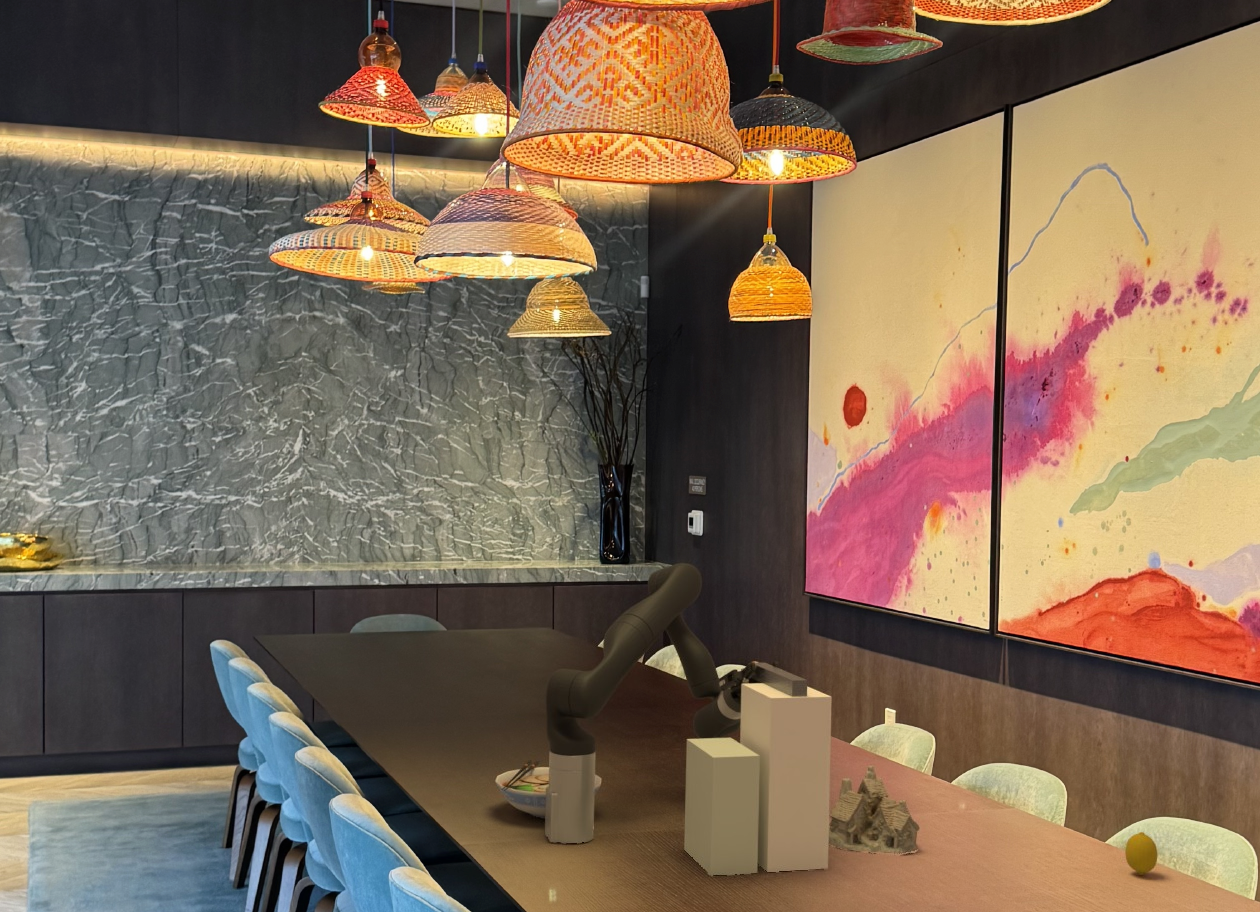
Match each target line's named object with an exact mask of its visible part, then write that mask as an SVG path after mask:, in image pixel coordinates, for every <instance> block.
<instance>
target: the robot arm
mask: <svg viewBox="0 0 1260 912" xmlns="http://www.w3.org/2000/svg"><path fill="white" fill-rule="evenodd" d="M702 579H703V578H702V576H701V573H700V571H699V569H698V568H696V566H694V565H692V564H691V563H690V564H689V563H688V562H687V563H684V562H681V563H680V562H679V563H675V564H672V565H670V566H666V567H664V568H661V569H658V570H656V571H653V572H652V573H651V574H650V576H649V577H648V580H647V590H648V595H649V596H647V597H646V598H644V599H642V600H641V601H639V602H638V603H636V604H634V605H633V606H631V607H630V608H629V609H627V610H626V611H624V612H623V613H622V614H621V615H620V616H618V618H617V619H616V620H615V621H614V622H613V623H612V624H611V625H610V626H609V628H608V629H607V630H606V632H605V634H604V637H603V645H602V646H603V648H602V649H603V659H602V660H601V661H600V662H599V663H598V665H596V666H595V667H594V668H593V669H592V670H588V671H586V670H579V669H572V668H571V669H570V668H558V669H557V670H555V671H553V672H552V674H551V675H550V677H549V678H548V682H547V686H546V692H545V712H546V713H545V719H546V726H545V727H546V736H547V741H548V745H549V748H548V749H549V754H548V755H549V757H548V759H549V760H548V767H549V786H548V787H546V810H545V818H544V819H545V821H544V822H545V823H544V835H545V836H546V838H547V837H548V838H547V840H548V841H549V843H551V842H553V843H557V842H561V843H560V844H566V843H577V844H583V843H582V842H584V843H587V842H591V841H592V840H593V839H594V829H595V826H594V825H595V821H594V820H595V795H594V793H595V774H596V748H597V747H596V746H597V745H596V738H595V736H594V735H593V734H592V733H590V732H588V731H587V730H586V729H584V727H583V726H581V724H580V723H579V721H578V719H586V720H587V719H591V718H594V717H595V716H597V715H598V714H599V713H600V712H601V711H602V710H603V709H604V707H605V706H606V705H607V703H608V702H609V700H610V698H611V697H612V696H613V694H614V693H615V691H616V690H617V689H618V686H619V685H620V684H621V682H622V681H623V680H624V678H625V677H626V676H627V675H628V673H629V672H630V671H631V670H632V668H633V667H634V666H635V665H636V664H637V662H639V661H640V660H641V658H643V656H644V655H645V654H646V653H647V652H648V651H649V650H650V648H651V647H652V646H653V645H654V643H655V642H656V641H657V640H658V638H660V636H661V635H662V634H663V633H664V632H665V631H666V633H667V636H668V637H669V639H670V641H671V643H672V645H673V647H674V649H675V651H676V653H677V656H678V658H679V661H680V663H681V666H682V667H681V668H682V670H683V673H684V677H685V678H686V682H687V684H688V688H689V691H690V694H691V696H692V698H693V699H695V700H696V699H697V700H700V699H701V700H702V699H710V700H712V701H711V702H710V703H708V704H706V705H705V706H703V707H702V708H700V709H699V710H697V712H696V713H695V715H694V717H693V721H692V727H693V731H694V734H695V735H696V737H697V739H705V738H726V737H727V736H729V735H732V734H734V733H737V732H738V731H739V729H740V728H741V684H754V683H761V682H759V681H757V680H755V679H753V678H751V677H752V676H753V675H754V674H755V673H756V668H755V663H754V662H753V661H750V662H749V663H750V664H749V663H748V664H747V665H746V666H745V667H743V668H741V669H740V670H738V669H732V670H730V671H729V672H727V673H726V674H724V675H722V676H719V674H718V671H717V667H716V664H715V661H714V660H713V657H712V655H711V653H710V652H709V649H708V648H707V647H706V645H705V644H704V643H703V642H702V641H701V640H700V639H699V638H698V637H697V636H696V635H695V633H693V631H692V630H691V629H690V628H689V626H688V625H687V623H686V622H685V620H684V617H683V615H682V612H683V611H684V610H685V609H687V608H688V607H689V606H690V605H692V604H693V603H694V602H695V601H696V600H697V599H698V597H699V595H700V593H701V591H702V586H703V580H702ZM771 665H772V666H774V667H777V668H779V669H781V665H780V663H779V661H774V662H773V663H772V664H771Z"/></svg>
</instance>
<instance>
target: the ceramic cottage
mask: <svg viewBox="0 0 1260 912" xmlns="http://www.w3.org/2000/svg"><path fill="white" fill-rule="evenodd" d="M829 818H830V819H831V820H830V821H829V843H828V844H830V845H833V846H835V847H839V848H842V849H847V850H855V851H854V852H856V850H857V851H868V852H881V853H882V852H883V853H894V854H895V853H897V854H898V853H899V854H900V853H901V854H902V853H906V852H911V851H915V850H917V849H918V850H919V847H918V845H917V837H918V836H917V835H918V831H919V830H920V825H919V824H918V823H917V822H916V821H915V820H914V819H913V817H912V815H911V812H910V810H909V807H907V803H906V800H904V799H900V800H899V801H898V803H897V801H896V799H892V798H889V794H888V791H887V789H886V787H885V784H884V782H883V779H882V778H881V777H877V776H876V771H875V767H874V766H873V765H868V766H867V771H865V774H864V778H862V779H861V782H860V785H859V787H858V789H857V791H856V792H855V791H853V786H852V780H851V778H842V780H841V786H840V791H839V795H838V800H837V802H836V804H835V805H834V807H833V809H832V810H831V813H829ZM839 848H838V849H839ZM842 849H841V850H842Z"/></svg>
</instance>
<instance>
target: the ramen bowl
mask: <svg viewBox="0 0 1260 912" xmlns="http://www.w3.org/2000/svg"><path fill="white" fill-rule="evenodd" d="M539 764H540V760H536V761H534V763H532V760H531V759H528V760H527V761H526V763H525V764H524V765H523V766H522V767H521V768H520V769H519V768H518V769H513V770H508V771H505V772H503V773H501V774H499V775H497V776H496V778H495V780H494V781H495V784H496V785H497V788H498V790H499V791H500V793H501V795H502V796H503V798H504V799H505V800H506V801H507V802H508V803H509V804H510V805H511V806H513V807H514V808H515V809H517V810H519V811H522V812H524V813H527V814H530V815H531V816H532V815H533V817H535V816H536V818H538V817H541V818H540V819H545V810H546V787H548V786H549V766H547V767H546V766H541V767H539V766H538V765H539ZM601 785H602V777H600V776H599V775H597V774H596V773H595V793H594V796H596V794H597V793H598V791H599V789H600V787H601Z"/></svg>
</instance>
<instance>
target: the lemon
mask: <svg viewBox="0 0 1260 912" xmlns="http://www.w3.org/2000/svg"><path fill="white" fill-rule="evenodd" d="M1124 851H1125V853H1124V854H1125V858H1126V862H1127V864H1128V866H1129V867H1130V868H1131V869H1132V870H1133V871H1135V872H1137V874H1138V875H1139V876H1144V875H1145V874H1146V873H1149V872H1151V871H1152V870H1153V869H1154V868H1155V866H1156V865H1157V861H1158V848H1157V846H1156V843H1155V841H1154V839H1152V838H1151V837H1150V836H1149V835H1147V834H1145V832H1144V831H1143V832H1142V831H1139V833H1135V834H1133V835H1131V836H1130V837H1129V839H1128V840H1127V843H1126V846H1125V850H1124Z"/></svg>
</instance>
